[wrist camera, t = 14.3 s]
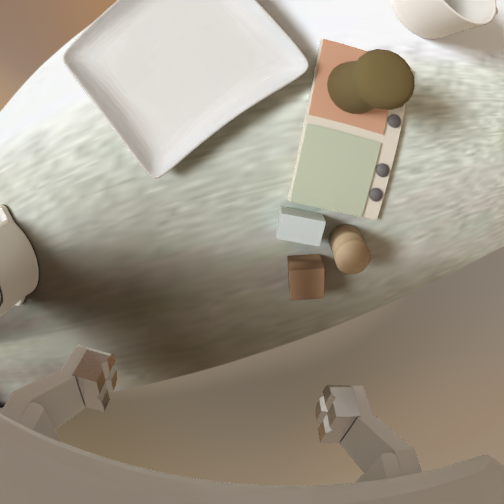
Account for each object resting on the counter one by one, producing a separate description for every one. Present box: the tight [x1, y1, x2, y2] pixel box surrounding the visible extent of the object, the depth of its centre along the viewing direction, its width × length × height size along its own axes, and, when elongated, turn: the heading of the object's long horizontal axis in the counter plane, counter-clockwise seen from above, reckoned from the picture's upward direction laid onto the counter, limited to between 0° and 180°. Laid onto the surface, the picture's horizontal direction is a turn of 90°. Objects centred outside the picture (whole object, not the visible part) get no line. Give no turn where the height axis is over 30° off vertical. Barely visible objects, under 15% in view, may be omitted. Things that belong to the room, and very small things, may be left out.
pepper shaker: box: [327, 49, 414, 114], centre depth 24 cm, size 6×6×11 cm
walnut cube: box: [288, 254, 325, 300], centre depth 38 cm, size 4×4×4 cm
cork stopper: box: [329, 224, 371, 274], centre depth 35 cm, size 4×4×5 cm
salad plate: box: [63, 0, 309, 178], centre depth 28 cm, size 21×21×3 cm
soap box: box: [276, 206, 326, 247], centre depth 36 cm, size 5×3×3 cm, turn 80°
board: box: [288, 39, 412, 220], centre depth 32 cm, size 11×19×1 cm, turn 170°
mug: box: [390, 0, 498, 39], centre depth 20 cm, size 9×12×11 cm
